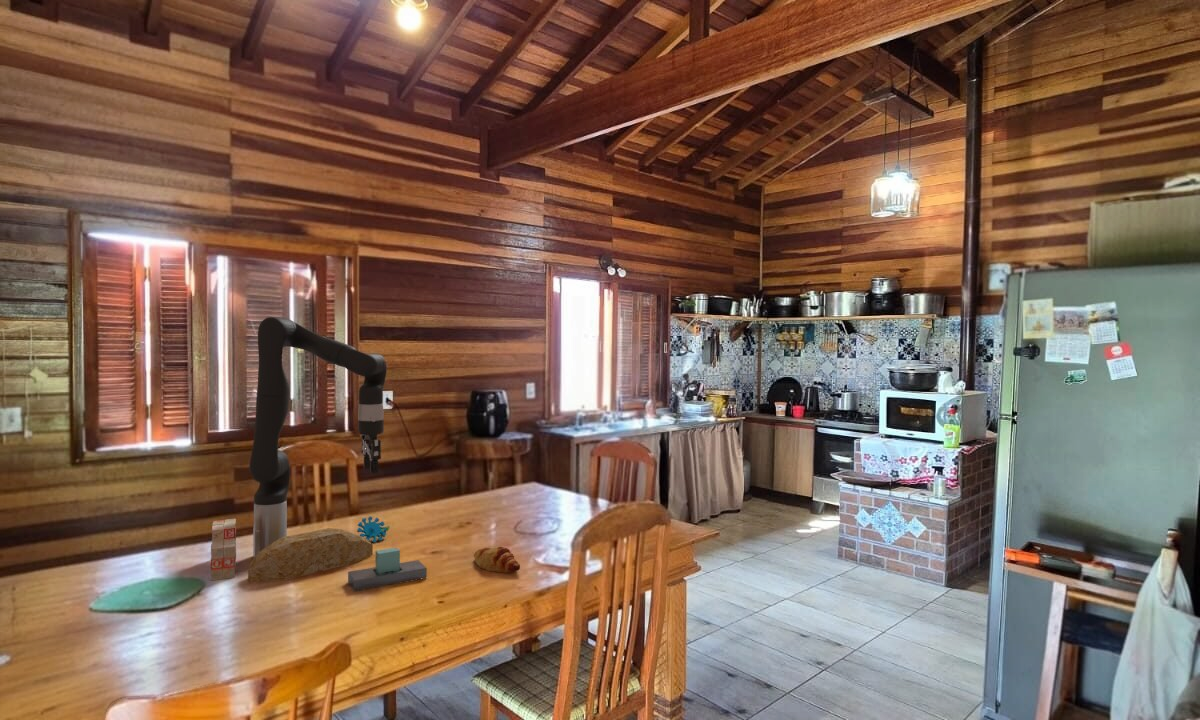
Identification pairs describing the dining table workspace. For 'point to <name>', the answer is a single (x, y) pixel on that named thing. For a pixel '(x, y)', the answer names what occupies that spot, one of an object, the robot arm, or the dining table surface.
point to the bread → (308, 554)
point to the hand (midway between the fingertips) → (370, 470)
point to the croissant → (496, 559)
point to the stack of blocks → (223, 549)
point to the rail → (386, 576)
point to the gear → (372, 529)
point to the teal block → (387, 560)
